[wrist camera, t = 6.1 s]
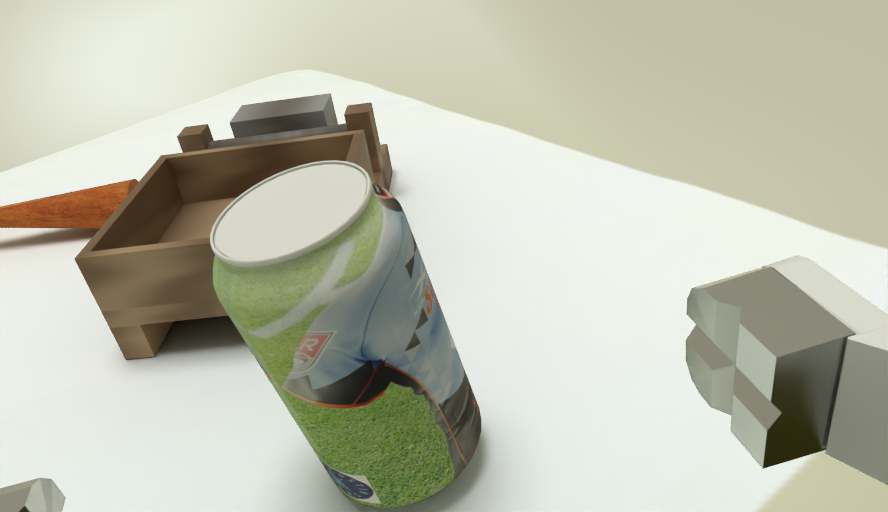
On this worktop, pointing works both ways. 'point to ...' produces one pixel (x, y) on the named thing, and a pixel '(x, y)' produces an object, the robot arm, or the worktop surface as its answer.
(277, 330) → the beverage can
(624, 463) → the worktop surface
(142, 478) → the worktop surface
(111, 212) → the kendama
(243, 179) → the tray
